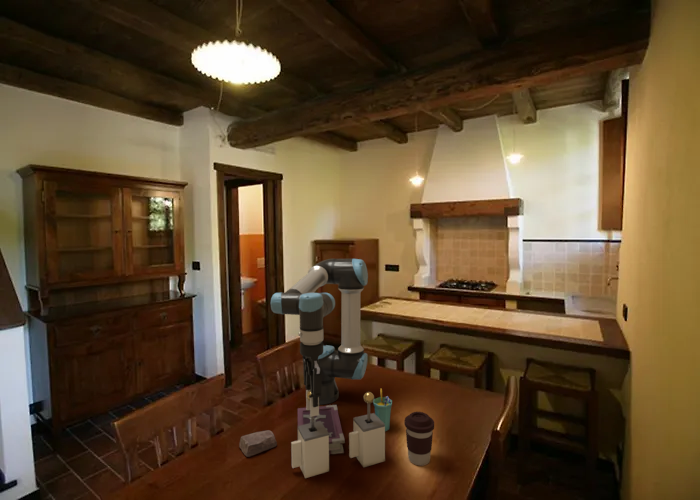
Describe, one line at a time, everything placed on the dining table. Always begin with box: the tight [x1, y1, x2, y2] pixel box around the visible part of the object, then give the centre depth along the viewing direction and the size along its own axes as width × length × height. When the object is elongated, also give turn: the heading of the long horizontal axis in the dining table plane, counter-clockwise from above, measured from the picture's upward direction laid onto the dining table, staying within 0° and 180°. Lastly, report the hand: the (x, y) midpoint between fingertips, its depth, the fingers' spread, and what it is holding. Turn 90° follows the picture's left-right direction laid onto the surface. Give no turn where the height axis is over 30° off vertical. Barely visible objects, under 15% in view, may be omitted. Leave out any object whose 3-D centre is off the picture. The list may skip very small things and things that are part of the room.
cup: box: [372, 388, 393, 432], centre depth 139 cm, size 14×8×15 cm, turn 15°
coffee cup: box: [403, 411, 435, 466], centre depth 120 cm, size 10×10×15 cm
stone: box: [238, 429, 278, 458], centre depth 128 cm, size 12×9×5 cm
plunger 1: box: [307, 390, 314, 432], centre depth 116 cm, size 5×5×21 cm
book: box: [297, 404, 346, 455], centre depth 136 cm, size 25×16×5 cm, turn 9°
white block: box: [348, 412, 386, 468], centre depth 121 cm, size 8×11×13 cm
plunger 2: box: [363, 391, 375, 424], centre depth 121 cm, size 5×5×21 cm
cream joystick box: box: [290, 421, 330, 479], centre depth 116 cm, size 8×11×13 cm
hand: (312, 412), depth 116 cm, fingers closed on plunger 1, 4 cm apart
